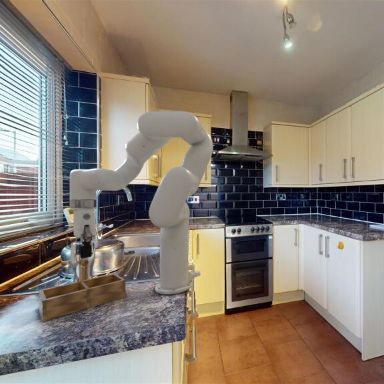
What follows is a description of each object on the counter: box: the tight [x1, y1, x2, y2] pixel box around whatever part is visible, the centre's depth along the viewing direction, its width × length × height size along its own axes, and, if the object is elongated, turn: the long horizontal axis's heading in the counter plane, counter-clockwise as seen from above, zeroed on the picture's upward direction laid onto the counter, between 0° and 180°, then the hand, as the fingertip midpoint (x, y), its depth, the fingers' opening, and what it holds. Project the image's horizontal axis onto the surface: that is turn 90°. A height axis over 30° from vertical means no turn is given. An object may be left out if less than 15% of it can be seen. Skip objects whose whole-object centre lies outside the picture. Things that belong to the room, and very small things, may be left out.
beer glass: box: [70, 239, 96, 283], centre depth 80 cm, size 7×7×15 cm
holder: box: [38, 272, 126, 323], centre depth 70 cm, size 20×10×5 cm, turn 137°
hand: (83, 255), depth 80 cm, fingers closed on beer glass, 7 cm apart
